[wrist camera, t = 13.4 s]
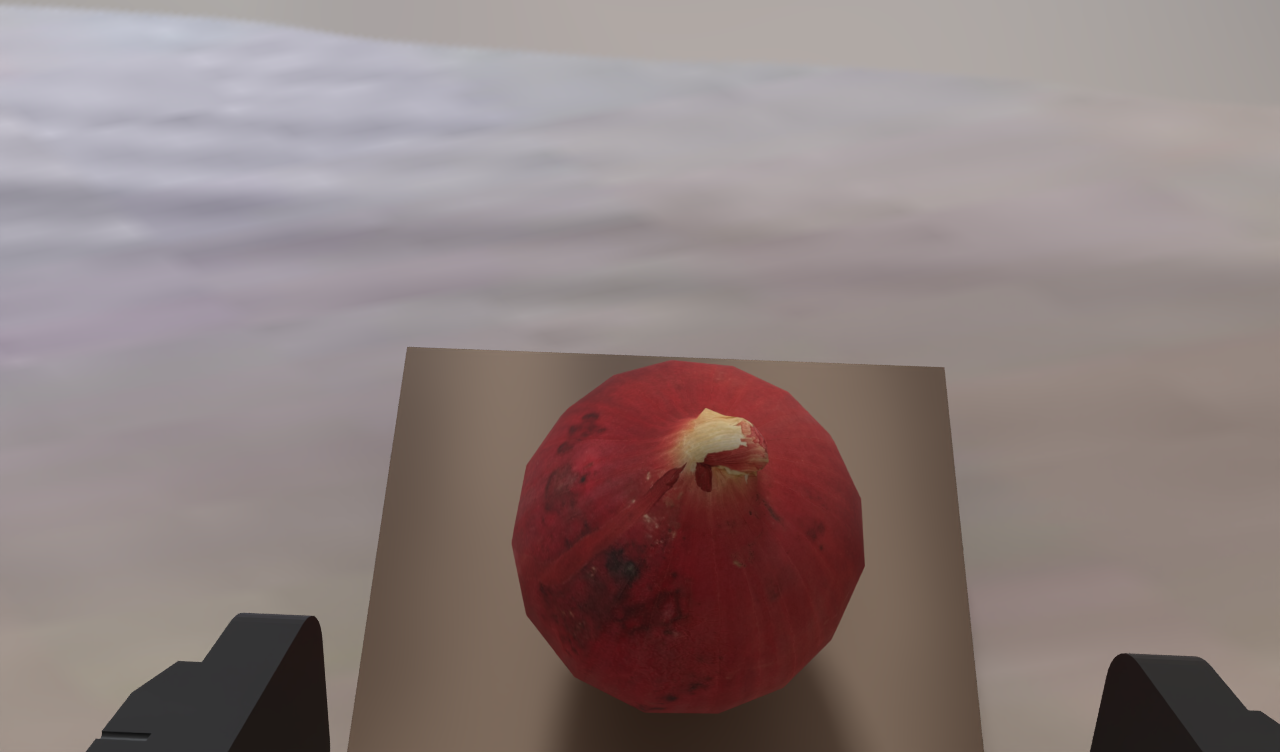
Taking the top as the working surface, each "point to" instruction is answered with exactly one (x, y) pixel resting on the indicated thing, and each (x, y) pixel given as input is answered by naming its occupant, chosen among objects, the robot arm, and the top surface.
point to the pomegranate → (687, 538)
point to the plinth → (534, 674)
